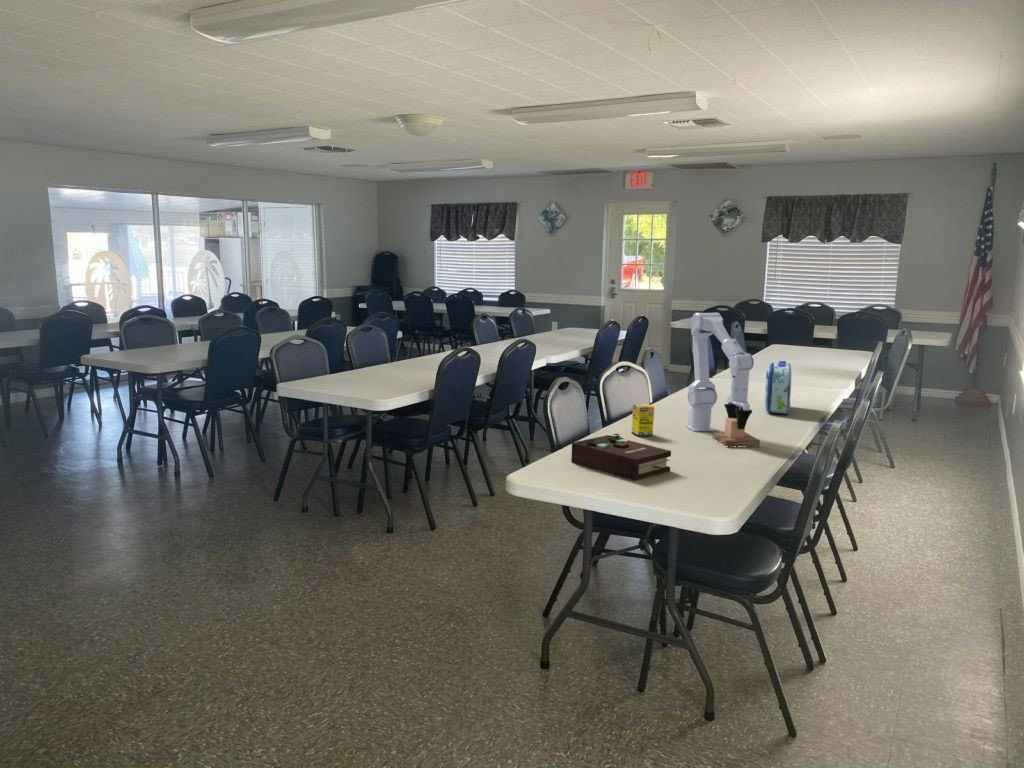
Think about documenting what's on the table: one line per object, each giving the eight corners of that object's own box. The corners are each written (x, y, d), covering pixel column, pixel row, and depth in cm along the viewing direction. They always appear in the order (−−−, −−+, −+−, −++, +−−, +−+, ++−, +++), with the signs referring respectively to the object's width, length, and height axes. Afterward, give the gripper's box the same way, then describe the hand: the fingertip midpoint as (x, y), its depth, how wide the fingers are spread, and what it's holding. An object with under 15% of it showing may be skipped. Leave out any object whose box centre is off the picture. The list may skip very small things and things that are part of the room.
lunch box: (764, 404, 340) (768, 357, 336) (789, 406, 336) (793, 359, 333) (762, 414, 316) (766, 365, 312) (789, 417, 312) (793, 367, 309)
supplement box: (638, 437, 271) (639, 407, 270) (631, 433, 277) (632, 404, 275) (653, 436, 273) (654, 406, 271) (645, 432, 279) (647, 403, 277)
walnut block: (712, 440, 271) (713, 432, 271) (744, 440, 273) (744, 432, 272) (725, 449, 259) (726, 440, 259) (759, 448, 261) (759, 440, 260)
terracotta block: (724, 434, 268) (725, 418, 267) (738, 434, 268) (739, 418, 267) (730, 438, 263) (731, 421, 262) (744, 437, 263) (745, 421, 262)
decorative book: (639, 459, 214) (563, 439, 236) (638, 485, 215) (563, 462, 237) (680, 449, 227) (604, 430, 249) (678, 473, 228) (603, 453, 250)
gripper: (720, 384, 269) (717, 422, 272) (736, 392, 255) (734, 431, 257) (739, 384, 270) (736, 421, 272) (756, 392, 256) (753, 431, 258)
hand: (736, 426), depth 265 cm, fingers open, 7 cm apart
